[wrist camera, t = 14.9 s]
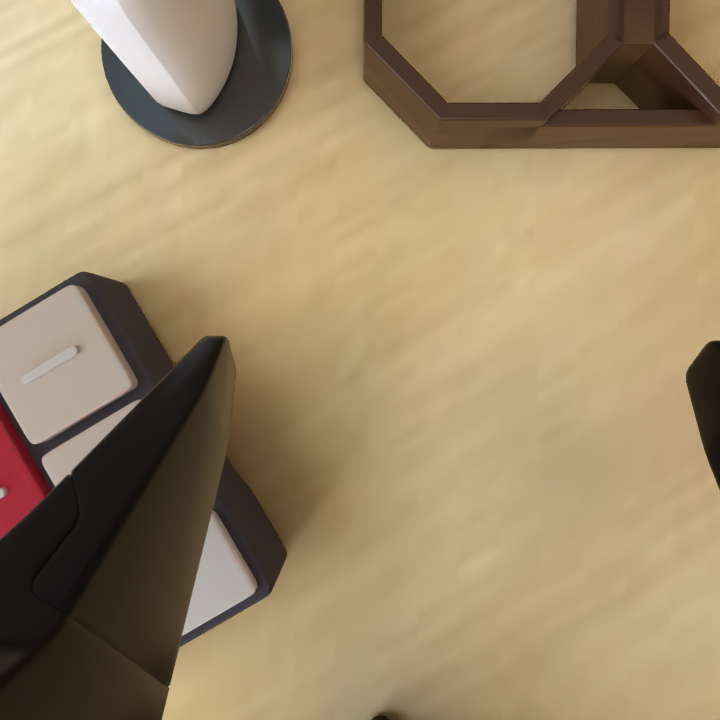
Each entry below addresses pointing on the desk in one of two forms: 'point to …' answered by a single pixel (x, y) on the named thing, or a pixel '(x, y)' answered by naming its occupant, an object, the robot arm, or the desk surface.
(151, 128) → the coaster
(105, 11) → the eye dropper bottle
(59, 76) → the desk surface
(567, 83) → the rack
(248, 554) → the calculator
